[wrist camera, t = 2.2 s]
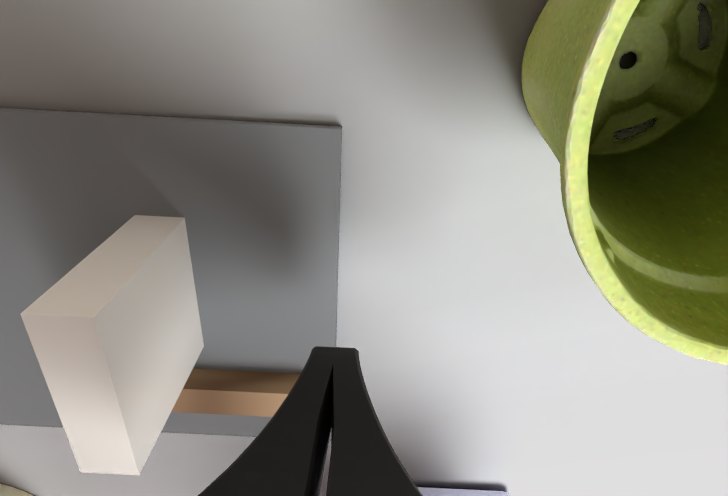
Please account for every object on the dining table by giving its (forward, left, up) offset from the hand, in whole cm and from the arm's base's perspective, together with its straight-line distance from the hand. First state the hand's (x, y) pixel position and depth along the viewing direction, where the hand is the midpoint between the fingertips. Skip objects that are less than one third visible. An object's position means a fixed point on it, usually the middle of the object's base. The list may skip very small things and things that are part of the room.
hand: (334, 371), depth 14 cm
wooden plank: (-5, +7, -4) cm, 9 cm away
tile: (0, +7, -4) cm, 8 cm away
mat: (-1, +9, -5) cm, 10 cm away
